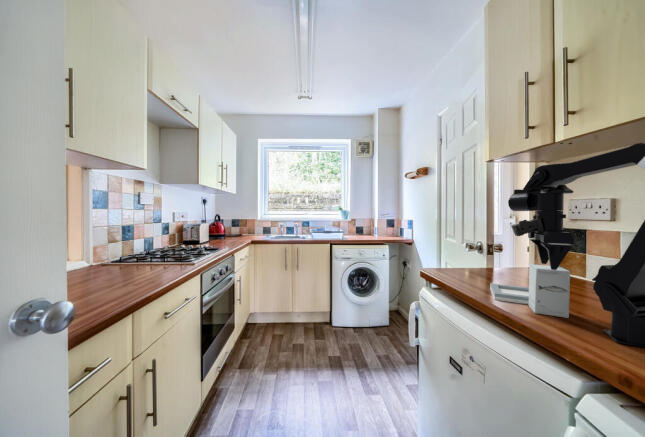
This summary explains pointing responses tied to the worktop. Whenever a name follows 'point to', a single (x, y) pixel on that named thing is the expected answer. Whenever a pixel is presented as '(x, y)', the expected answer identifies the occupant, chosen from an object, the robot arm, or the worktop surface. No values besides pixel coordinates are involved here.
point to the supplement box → (549, 290)
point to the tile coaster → (510, 293)
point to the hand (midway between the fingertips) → (548, 266)
